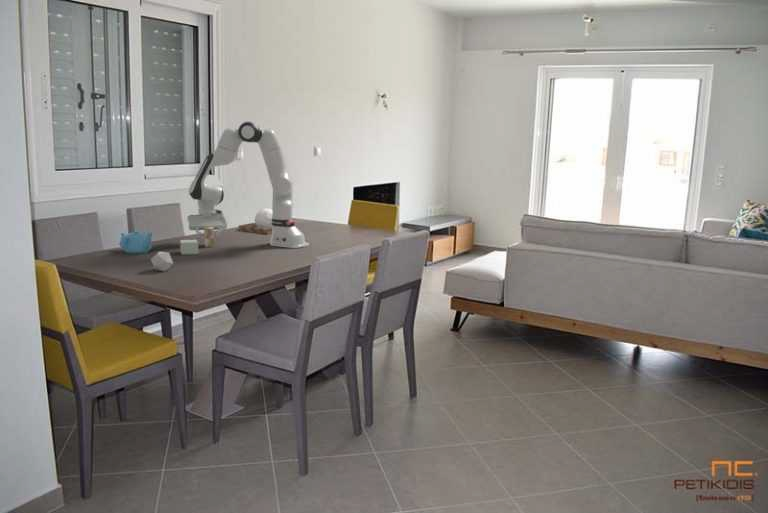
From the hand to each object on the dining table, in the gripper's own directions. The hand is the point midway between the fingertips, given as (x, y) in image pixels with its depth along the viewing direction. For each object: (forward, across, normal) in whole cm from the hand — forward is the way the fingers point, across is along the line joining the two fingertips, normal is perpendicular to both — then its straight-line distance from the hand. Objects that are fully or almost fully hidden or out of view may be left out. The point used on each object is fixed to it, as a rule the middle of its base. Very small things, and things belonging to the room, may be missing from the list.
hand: (208, 235), depth 347 cm
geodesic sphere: (-30, +39, +39) cm, 63 cm away
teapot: (+10, -36, -1) cm, 38 cm away
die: (+42, -25, -34) cm, 60 cm away
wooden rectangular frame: (-30, +39, +38) cm, 63 cm away
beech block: (+4, 0, +4) cm, 6 cm away
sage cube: (+15, -11, -7) cm, 20 cm away
